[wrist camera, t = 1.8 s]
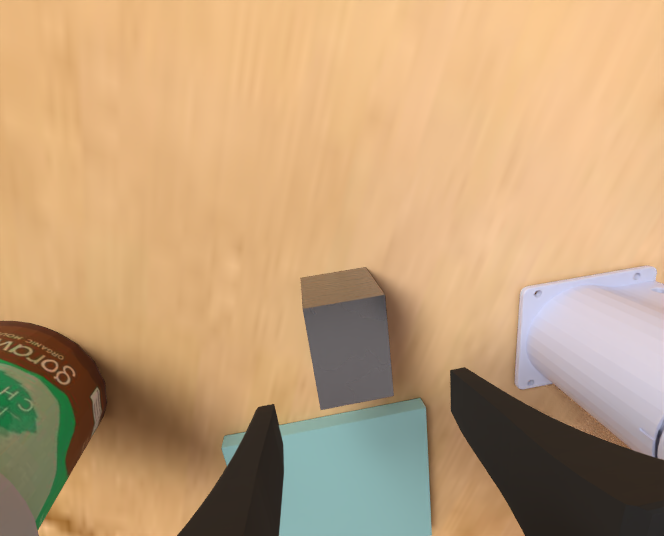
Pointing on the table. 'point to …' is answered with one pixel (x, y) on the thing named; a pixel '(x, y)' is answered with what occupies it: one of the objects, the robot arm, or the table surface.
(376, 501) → the teal board
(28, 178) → the table surface
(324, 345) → the block
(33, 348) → the food container
